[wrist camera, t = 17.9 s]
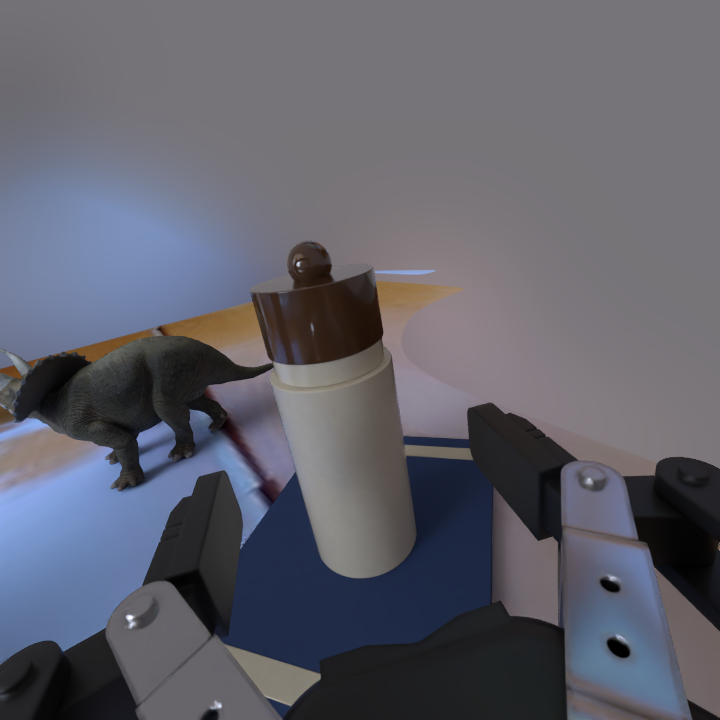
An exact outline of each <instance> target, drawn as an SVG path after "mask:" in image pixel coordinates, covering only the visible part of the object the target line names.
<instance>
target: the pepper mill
mask: <svg viewBox="0 0 720 720" xmlns="http://www.w3.org/2000/svg"><path fill="white" fill-rule="evenodd" d="M286 266H287V270H288V273H289V275H285V276H281V277H278V278H274V279H271V280H268V281H265V282H263V283H260V284H258V285H256V286H254V287H252V288H251V289H250V294H251V297H252V301H253V304H254V308H255V312H256V315H257V319H258V322H259V326H260V329H261V333H262V337H263V340H264V344H265V347H266V351H267V355H268V357H269V359H271V360H272V363H273V367H274V370H273V371H272V373H271V375H270V384H271V387H272V391H273V394H274V398H275V401H276V405H277V408H278V412H279V415H280V419H281V422H282V426H283V429H284V433H285V436H286V440H287V443H288V447H289V451H290V454H291V458H292V461H293V465H294V468H295V472H296V475H297V479H298V482H299V486H300V489H301V493H302V496H303V500H304V503H305V507H306V510H307V514H308V518H309V521H310V525H311V528H312V532H313V535H314V539H315V542H316V546H317V549H318V552H319V555H320V557H321V559H322V561H323V562H324V563H325V564H326V566H328V567H329V568H330V569H331V570H333V571H334V572H336V573H338V574H340V575H342V576H346V577H350V578H371V577H375V576H379V575H382V574H384V573H387V572H389V571H391V570H392V569H394V568H395V567H397V566H398V565H399V564H400V563H402V562H403V561H404V560H405V559H406V557H407V556H408V555H409V553H410V552H411V550H412V548H413V546H414V543H415V540H416V535H417V527H416V520H415V513H414V506H413V500H412V493H411V486H410V479H409V472H408V465H407V458H406V452H405V445H404V438H403V431H402V424H401V417H400V410H399V403H398V397H397V390H396V383H395V376H394V369H393V362H392V356H391V353H390V351H389V350H388V349H387V348H386V347H384V346H383V343H382V336H383V327H382V320H381V314H380V307H379V300H378V294H377V287H376V280H375V275H374V267H373V266H372V265H368V264H349V265H339V266H332V259H331V256H330V254H329V252H328V251H327V249H326V248H325V247H324V246H323V245H321V244H320V243H318V242H315V241H309V240H307V241H302V242H299V243H297V244H296V245H294V246H293V247H292V248H291V250H290V252H289V253H288V256H287V261H286Z"/></svg>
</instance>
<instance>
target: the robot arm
mask: <svg viewBox="0 0 720 720" xmlns="http://www.w3.org/2000/svg"><path fill="white" fill-rule="evenodd" d="M467 418H468V432H469V446H470V452H471V455H472V458H473V460H474V462H475V464H476V465H477V467H478V468H479V469H480V470H481V471H482V473H483V474H484V475H485V476H486V478H487V479H488V480H489V481H490V483H491V484H492V485H493V486H494V487H495V489H496V490H497V491H498V492H499V494H500V495H501V496H502V497H503V498H504V500H505V501H506V502H507V503H508V505H509V506H510V507H511V508H512V509H513V511H514V512H515V513H516V514H517V516H518V517H519V518H520V519H521V520H522V522H523V523H524V524H525V525H526V527H527V528H528V529H529V530H530V532H531V533H532V534H533V535H534V536H535V538H536V539H537V540H538V541H539V540H543V539H546V538H549V537H552V536H553V537H554V538H555V539H556V541H557V542H558V626H556V625H554V624H551V623H548V622H545V621H542V620H539V619H534V618H529V617H521V616H509V614H508V612H507V611H506V609H505V607H504V605H503V604H502V602H501V601H498V602H495V603H492V604H489V605H486V606H483V607H480V608H477V609H474V610H471V611H468V612H465V613H462V614H459V615H457V616H456V617H454V618H453V619H451V620H450V621H448V622H447V623H446V624H444V625H443V626H441V627H440V628H438V629H437V630H435V631H434V632H433V633H431V634H430V635H428V636H427V637H425V638H424V639H423V640H421V641H419V642H416V643H408V644H381V645H365V646H362V647H359V648H356V649H352V650H349V651H346V652H343V653H340V654H337V655H334V656H331V657H328V658H325V659H322V660H319V663H320V675H321V679H320V680H319V681H317V682H316V683H314V684H313V685H312V686H311V687H309V688H308V689H307V690H306V691H305V692H304V693H303V694H302V695H301V696H300V697H299V698H298V699H297V700H296V701H295V702H294V703H293V704H292V706H291V707H290V708H289V710H288V711H287V712H286V714H285V715H284V716H283V717H282V718H281V717H280V715H279V714H278V713H277V712H276V710H275V709H274V708H273V706H272V705H271V704H270V703H269V701H268V700H267V699H266V697H265V696H264V695H263V694H262V692H261V691H260V690H259V688H258V687H257V686H256V685H255V683H254V682H253V681H252V679H251V678H250V677H249V676H248V674H247V673H246V672H245V670H244V669H243V668H242V667H241V665H240V664H239V663H238V661H237V660H236V659H235V658H234V656H233V655H232V654H231V652H230V651H229V650H228V649H227V647H226V646H225V645H224V643H223V642H222V641H221V640H220V638H224V637H227V636H229V628H230V620H231V613H232V605H233V598H234V590H235V583H236V575H237V568H238V560H239V553H240V545H241V538H242V530H243V522H242V514H241V510H240V507H239V504H238V501H237V499H236V496H235V493H234V491H233V488H232V485H231V482H230V480H229V477H228V475H227V473H226V471H224V470H223V471H219V472H215V473H211V474H207V475H203V476H200V477H198V479H197V482H196V485H195V488H194V490H193V493H192V496H189V497H185V498H183V499H182V500H181V501H180V502H179V503H178V505H177V506H176V507H175V508H174V509H173V510H172V512H171V513H170V516H169V519H168V521H167V524H166V526H165V528H166V529H165V530H164V531H163V534H162V536H161V542H159V544H158V547H157V549H156V552H155V554H154V557H153V559H152V562H151V564H150V567H149V569H148V572H147V575H146V577H145V580H144V582H143V585H142V587H140V588H139V589H137V590H135V591H134V592H133V593H131V594H130V595H129V596H127V597H126V598H125V599H124V600H123V601H122V602H121V603H120V604H119V605H118V607H117V608H116V609H115V610H114V612H113V613H112V615H111V617H110V618H109V621H108V623H107V626H106V628H105V629H103V630H101V631H100V632H98V633H96V634H94V635H93V636H91V637H89V638H87V639H85V640H84V641H82V642H80V643H78V644H76V645H75V646H73V647H71V648H69V649H67V650H66V651H64V652H63V651H62V649H61V648H60V647H59V645H58V644H57V643H56V642H53V641H41V642H37V643H35V644H32V645H30V646H28V647H26V648H24V649H22V650H20V651H19V652H17V653H16V654H14V655H13V656H11V657H10V658H9V659H7V660H6V661H5V662H4V663H2V664H1V665H0V720H720V718H719V717H717V716H716V715H714V714H712V713H710V712H709V711H707V710H705V709H703V708H702V707H700V706H698V705H696V704H695V703H693V702H691V701H689V700H688V699H687V697H686V693H685V689H684V685H683V681H682V677H681V673H680V669H679V665H678V661H677V657H676V653H675V649H674V646H673V642H672V638H671V634H670V630H669V626H668V622H667V618H666V614H665V610H664V606H663V602H662V598H661V594H660V590H659V586H658V582H657V578H656V574H655V570H654V567H655V568H656V569H657V570H658V571H659V572H660V573H661V574H662V575H663V576H664V577H665V578H666V579H667V580H668V581H669V582H670V583H671V584H672V585H673V586H674V587H675V588H676V589H677V590H678V591H679V592H680V593H681V594H682V595H683V596H685V597H686V598H687V599H688V600H689V601H690V602H691V603H692V604H693V605H694V606H695V607H696V608H697V609H698V610H699V611H700V612H701V613H702V614H703V615H704V616H705V617H706V618H707V619H708V620H709V621H710V622H711V623H712V624H713V625H714V626H715V627H716V628H717V629H718V630H719V631H720V551H719V550H718V545H719V542H720V469H719V468H717V467H715V466H713V465H711V464H708V463H706V462H703V461H699V460H696V459H691V458H684V457H670V458H666V459H663V460H661V461H659V462H658V463H657V465H656V471H655V476H621V475H620V474H619V473H618V472H617V471H616V470H614V469H612V468H611V467H609V466H606V465H604V464H601V463H597V462H593V461H578V460H577V459H576V458H575V457H573V456H572V455H571V454H569V453H568V452H567V451H566V450H564V449H563V448H562V447H561V446H559V445H558V444H557V443H555V442H554V441H553V440H552V439H550V438H549V437H546V435H545V434H544V433H543V432H541V431H540V430H539V429H537V428H536V427H535V426H534V425H533V424H531V423H530V422H529V421H527V420H526V419H524V418H522V417H519V416H517V415H514V414H512V413H508V414H505V413H504V412H502V411H501V410H500V409H499V408H498V407H496V406H495V405H494V404H493V403H487V404H483V405H479V406H475V407H471V408H469V409H468V412H467Z"/></svg>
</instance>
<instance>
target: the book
mask: <svg viewBox="0 0 720 720" xmlns="http://www.w3.org/2000/svg"><path fill="white" fill-rule="evenodd" d="M403 438H404V445H405V452H406V458H407V465H408V472H409V479H410V486H411V493H412V500H413V506H414V513H415V520H416V527H417V535H416V540H415V543H414V546H413V548H412V550H411V552H410V553H409V555H408V556H407V557H406V559H405V560H404V561H403V562H402V563H400V564H399V565H398V566H397V567H395V568H394V569H392V570H391V571H389V572H387V573H384V574H382V575H379V576H375V577H371V578H350V577H346V576H342V575H340V574H338V573H336V572H334V571H333V570H331V569H330V568H329V567H328V566H326V564H325V563H324V562H323V561H322V559H321V557H320V555H319V552H318V549H317V546H316V542H315V539H314V535H313V532H312V528H311V525H310V521H309V518H308V514H307V510H306V507H305V503H304V500H303V496H302V493H301V489H300V486H299V482H298V479H297V475H296V472H295V473H294V475H293V476H292V478H291V479H290V480H289V482H288V483H287V485H286V486H285V488H284V489H283V490H282V492H281V493H280V495H279V496H278V497H277V499H276V500H275V502H274V503H273V504H272V506H271V507H270V509H269V510H268V511H267V513H266V514H265V516H264V517H263V518H262V520H261V521H260V523H259V524H258V526H257V527H256V528H255V530H254V531H253V533H252V534H251V535H250V537H249V538H248V540H247V541H246V542H245V544H244V545H243V547H242V548H241V549H240V553H239V560H238V568H237V575H236V583H235V590H234V598H233V605H232V613H231V620H230V628H229V636H227V637H224V638H220V640H221V641H222V642H223V643H224V645H225V646H226V647H227V649H228V650H229V651H230V652H231V654H232V655H233V656H234V658H235V659H236V660H237V661H238V663H239V664H240V665H241V667H242V668H243V669H244V670H245V672H246V673H247V674H248V676H249V677H250V678H251V679H252V681H253V682H254V683H255V685H256V686H257V687H258V688H259V690H260V691H261V692H262V694H263V695H264V696H265V697H266V699H267V700H268V701H269V703H270V704H271V705H272V706H273V708H274V709H275V710H276V712H277V713H278V714H279V715H280V717H281V718H282V717H283V716H284V715H285V714H286V712H287V711H288V710H289V708H290V707H291V706H292V704H293V703H294V702H295V701H296V700H297V699H298V698H299V697H300V696H301V695H302V694H303V693H304V692H305V691H306V690H307V689H308V688H309V687H311V686H312V685H313V684H314V683H316V682H317V681H319V680H320V679H321V675H320V663H319V660H322V659H325V658H328V657H331V656H334V655H337V654H340V653H343V652H346V651H349V650H352V649H356V648H359V647H362V646H365V645H381V644H408V643H416V642H419V641H421V640H423V639H424V638H425V637H427V636H428V635H430V634H431V633H433V632H434V631H435V630H437V629H438V628H440V627H441V626H443V625H444V624H446V623H447V622H448V621H450V620H451V619H453V618H454V617H456V616H457V615H459V614H462V613H465V612H468V611H471V610H474V609H477V608H480V607H483V606H486V605H489V604H492V521H493V485H492V484H491V483H490V481H489V480H488V479H487V478H486V476H485V475H484V474H483V473H482V471H481V470H480V469H479V468H478V467H477V465H476V464H475V462H474V460H473V458H472V455H471V452H470V446H469V439H449V438H428V437H408V436H403Z"/></svg>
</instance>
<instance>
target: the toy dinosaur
mask: <svg viewBox="0 0 720 720" xmlns="http://www.w3.org/2000/svg"><path fill="white" fill-rule="evenodd" d="M0 351H1V352H3V353H4V354H5V355H7V356H8V357H9V358H10V359H11V360H12V361H13V363H14V365H15V366H16V368H17V369H18V371H19V372H20V374H21V375H22V379H18V378H14V377H11V376H8V375H5V374H2V373H0V405H1V406H2V407H3V408H5V409H8V411H9V412H11V413H12V414H11V415H14V416H15V419H14V423H19V422H21V421H23V420H24V419H26V418H36V419H38V420H40V421H42V422H43V423H45V424H48V425H49V426H50V427H51V428H52V429H53V430H54V431H55V432H57V433H61V434H66V435H67V436H69V437H71V438H73V439H76V440H83V441H91V442H93V443H95V444H97V445H99V446H106V447H110V448H112V449H113V452H112V453H110V454H109V455H107V456H106V458H105V459H106V460H111V461H110V464H116V463H118V462H120V463H121V465H122V470H121V472H120V477H119V478H118V479H117V480H116V481H115V482H114V483H113V484H112V485H111V487H110V488H111V489H113V488H117V487H118V491H122V490H124V489H125V488H127V487H128V486H130V485H132V486H136V485H137V484H138V482H142V481H144V479H145V477H144V473H143V470H142V468H141V466H140V465H139V452H138V448H139V447H138V442H137V440H136V439H137V437H138V435H139V433H140V432H143V431H145V430H147V429H150V428H152V427H153V426H155V425H156V424H158V423H159V422H161V421H162V420H163V421H165V422H166V423H167V424H168V425H169V426H170V427H171V428H172V429H173V431H174V432H175V440H176V445H175V447H174V448H173V449H172V450H171V451H170V453H169V455H168V457H169V458H171V457H173V462H177V461H178V460H180V459H181V458H182V457H183V456H185V457H186V458H189V457H191V456H192V454H193V452H194V448H195V443H194V440H193V439H194V438H193V431H192V429H191V426H190V423H189V421H190V412H189V409H192V410H199V411H202V412H205V413H206V414H207V415H209V416H210V417H211V418H212V419H213V420H214V422H212V423H211V424H210V425H209V429H211V433H214V432H216V431H218V430H219V429H220V428H221V427H222V425H223V424H224V422H225V420H226V418H227V415H228V414H227V412H226V411H225V410H224V409H223V408H222V407H221V405H220V404H219V403H218V402H216V401H214V400H211V399H209V398H207V397H206V396H205V395H204V394H203V393H204V392H205V390H206V387H207V386H208V385H213V384H223V383H226V382H230V381H237V380H244V379H250V378H254V377H256V376H258V375H260V374H263V373H265V372H267V371H269V370H270V369H272V368H273V363H270V364H266V365H263V366H259V367H243V366H239V365H236V364H235V363H233V362H232V361H231V360H230V359H229V358H228V357H227V356H225V355H224V354H222V353H221V352H219V351H218V350H216V349H215V348H213V347H211V346H209V345H207V344H204V343H202V342H200V341H198V340H195V339H192V338H188V337H184V336H156V337H148V338H142V339H138V340H135V341H133V342H130V343H128V344H126V345H123V346H121V347H119V348H118V349H116V350H114V351H112V352H110V353H108V354H107V355H105V356H104V357H102V358H100V359H98V360H97V361H95V362H93V363H92V362H91V361H86V360H85V357H86V356H85V355H84V356H80V355H78V354H77V352H73V353H71V354H67V353H65V352H61V353H60V354H59V355H57V356H52V355H49V356H48V357H47V358H46V359H44V360H42V361H40V360H38V361H37V362H36V363H35V365H34V367H33V368H32V367H31V366H30V365H29V364H28V363H27V362H26V361H25V360H23V359H22V358H21V357H19V356H17V355H15V354H13V353H11V352H8V351H6V350H3V349H0Z"/></svg>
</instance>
